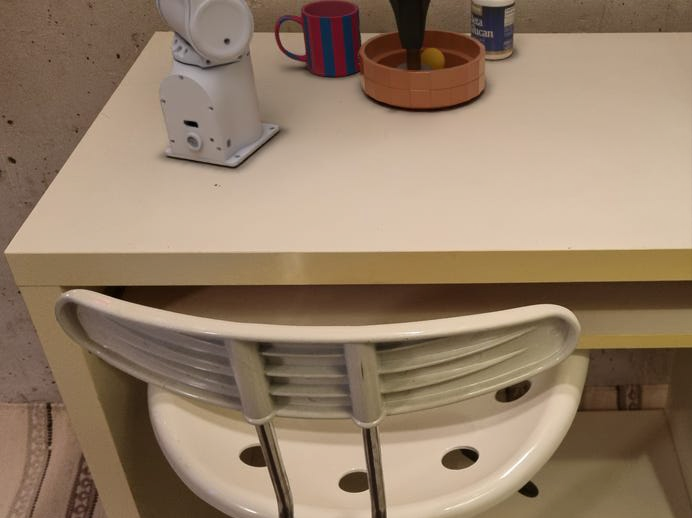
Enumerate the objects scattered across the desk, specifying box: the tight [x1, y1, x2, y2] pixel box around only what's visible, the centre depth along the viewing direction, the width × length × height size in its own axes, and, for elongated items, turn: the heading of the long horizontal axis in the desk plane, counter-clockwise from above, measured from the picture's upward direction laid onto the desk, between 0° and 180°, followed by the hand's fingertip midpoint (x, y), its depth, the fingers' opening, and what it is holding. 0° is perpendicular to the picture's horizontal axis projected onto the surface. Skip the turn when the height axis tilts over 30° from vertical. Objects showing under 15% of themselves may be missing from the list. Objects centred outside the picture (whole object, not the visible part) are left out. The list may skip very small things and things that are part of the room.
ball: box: [421, 48, 445, 70], centre depth 99 cm, size 3×3×3 cm
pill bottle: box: [470, 0, 516, 61], centre depth 104 cm, size 5×5×10 cm
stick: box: [397, 49, 432, 71], centre depth 92 cm, size 4×4×9 cm
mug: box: [274, 0, 362, 78], centre depth 101 cm, size 7×10×7 cm
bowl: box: [359, 28, 486, 110], centre depth 97 cm, size 14×14×4 cm
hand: (412, 44), depth 92 cm, fingers closed on stick
